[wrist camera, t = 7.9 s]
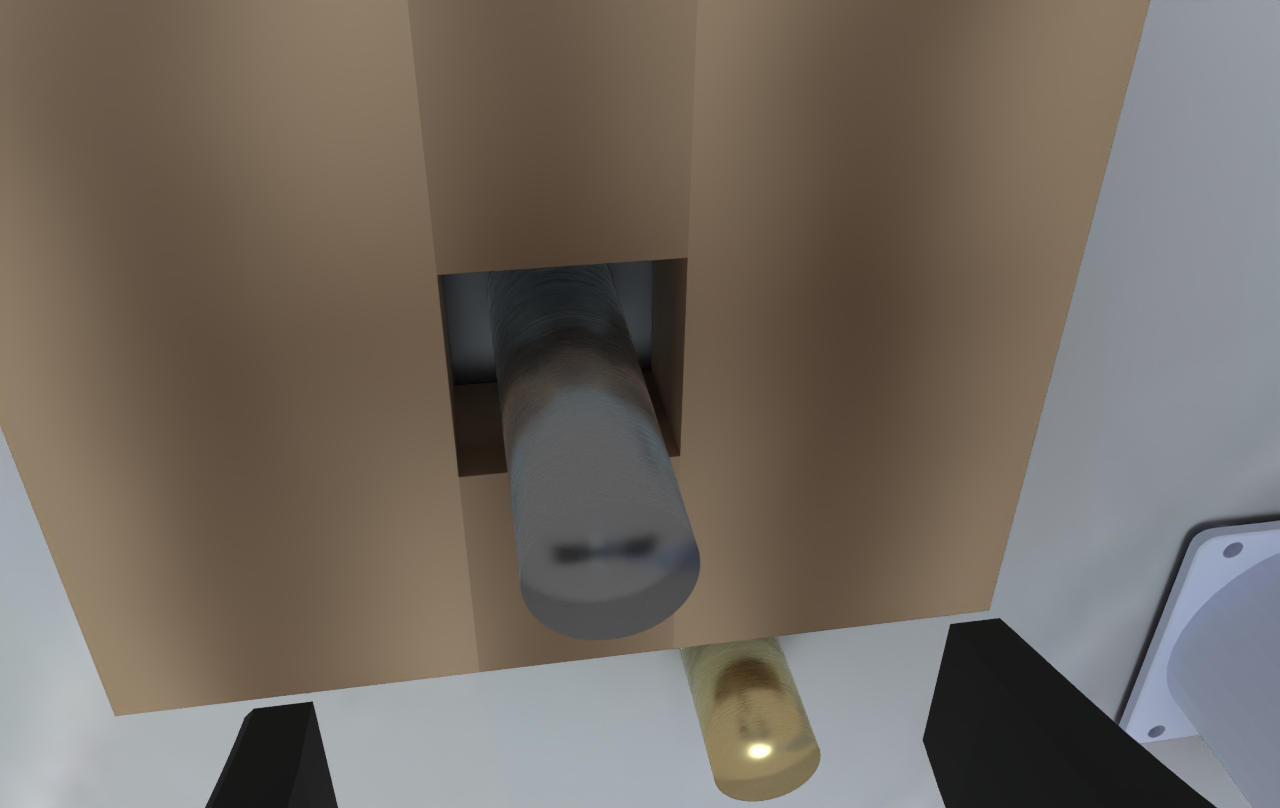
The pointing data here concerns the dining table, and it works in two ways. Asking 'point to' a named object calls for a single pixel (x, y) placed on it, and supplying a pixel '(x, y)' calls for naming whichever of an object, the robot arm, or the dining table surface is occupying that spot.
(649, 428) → the long pin
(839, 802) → the dining table surface
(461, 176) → the hole block
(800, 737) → the short pin
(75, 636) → the dining table surface
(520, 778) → the dining table surface
